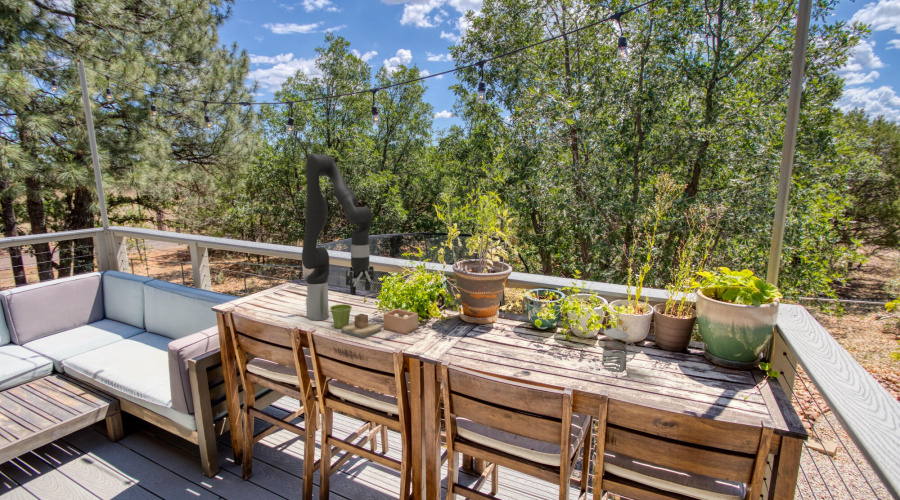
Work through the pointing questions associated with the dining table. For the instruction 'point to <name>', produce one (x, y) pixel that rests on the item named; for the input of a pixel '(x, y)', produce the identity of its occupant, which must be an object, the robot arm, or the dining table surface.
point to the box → (400, 321)
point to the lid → (361, 326)
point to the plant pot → (340, 315)
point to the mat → (358, 334)
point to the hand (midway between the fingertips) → (360, 292)
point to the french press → (616, 348)
